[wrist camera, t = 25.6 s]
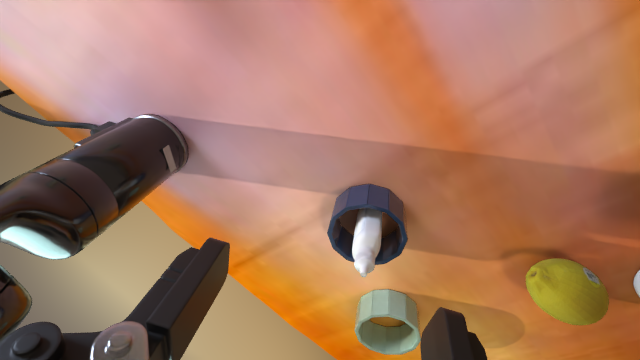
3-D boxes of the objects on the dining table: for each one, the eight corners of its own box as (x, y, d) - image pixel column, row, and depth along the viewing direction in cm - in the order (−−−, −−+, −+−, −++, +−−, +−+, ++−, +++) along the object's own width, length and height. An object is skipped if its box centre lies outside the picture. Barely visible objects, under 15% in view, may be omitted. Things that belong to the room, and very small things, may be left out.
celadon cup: (351, 318, 59) (348, 343, 55) (367, 282, 54) (365, 307, 49) (405, 334, 59) (406, 361, 54) (427, 300, 53) (430, 326, 49)
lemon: (603, 275, 44) (641, 326, 37) (548, 298, 48) (574, 349, 41) (555, 230, 42) (586, 275, 35) (502, 258, 46) (521, 304, 39)
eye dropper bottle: (345, 214, 47) (333, 274, 37) (372, 193, 44) (367, 252, 34) (366, 232, 48) (360, 295, 38) (394, 212, 45) (395, 275, 35)
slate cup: (327, 230, 50) (321, 252, 45) (343, 176, 44) (338, 195, 40) (391, 249, 49) (391, 273, 45) (415, 196, 43) (418, 218, 39)
